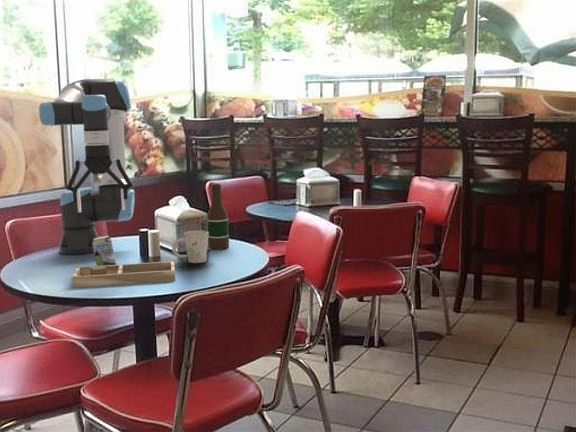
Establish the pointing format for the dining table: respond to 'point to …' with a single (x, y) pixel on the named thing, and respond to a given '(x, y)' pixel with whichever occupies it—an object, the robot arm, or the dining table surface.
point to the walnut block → (98, 270)
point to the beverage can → (103, 251)
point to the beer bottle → (217, 221)
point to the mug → (194, 246)
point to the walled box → (125, 274)
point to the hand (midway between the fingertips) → (101, 210)
